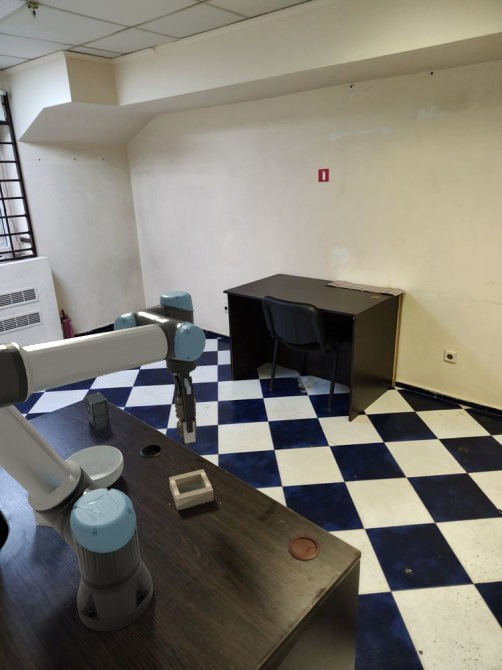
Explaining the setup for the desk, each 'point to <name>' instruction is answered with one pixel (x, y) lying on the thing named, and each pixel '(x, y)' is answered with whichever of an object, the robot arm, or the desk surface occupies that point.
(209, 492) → the wooden square frame
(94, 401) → the box
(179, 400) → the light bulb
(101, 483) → the cereal bowl
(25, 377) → the robot arm
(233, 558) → the desk surface
